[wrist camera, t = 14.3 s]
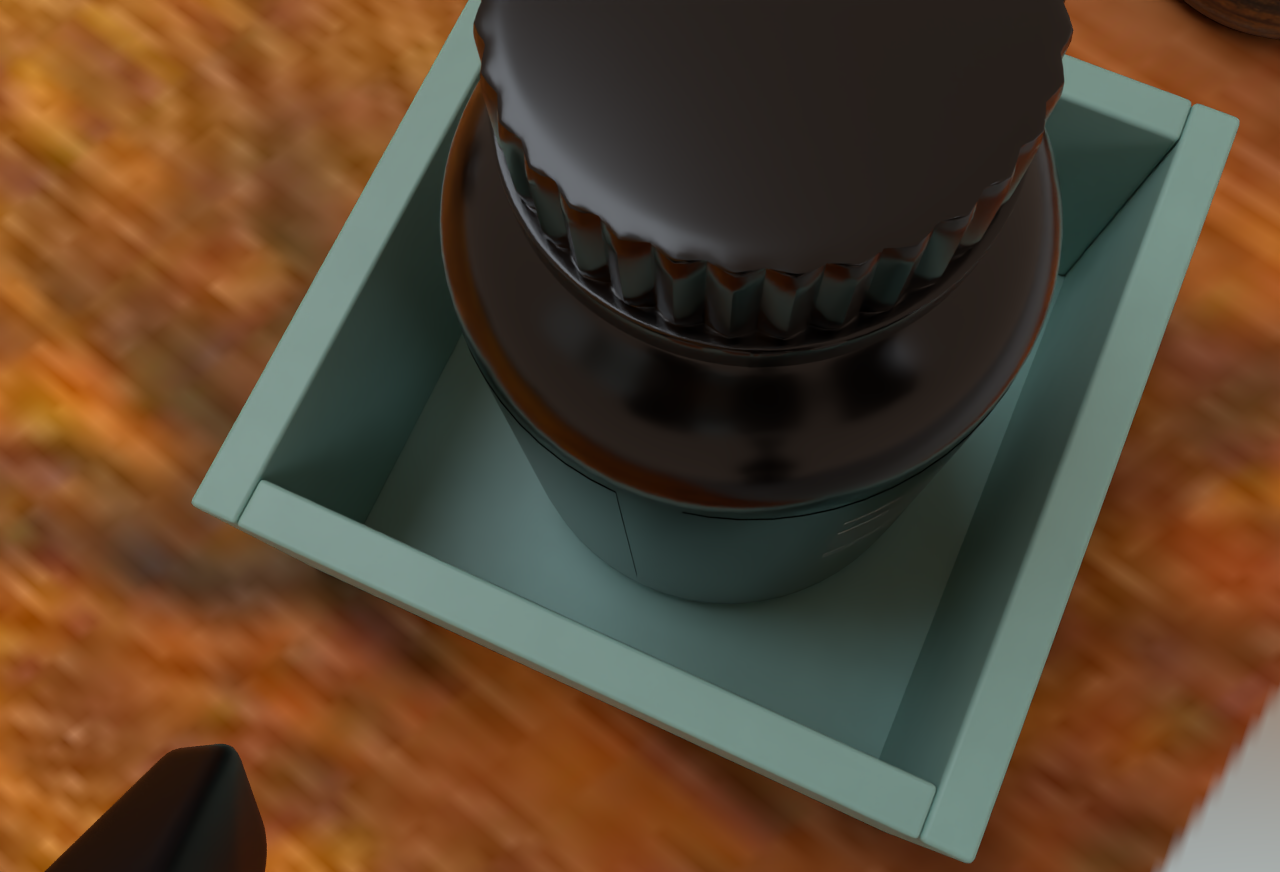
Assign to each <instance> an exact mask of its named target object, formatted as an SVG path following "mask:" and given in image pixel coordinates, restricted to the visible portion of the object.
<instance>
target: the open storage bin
mask: <svg viewBox="0 0 1280 872" xmlns="http://www.w3.org/2000/svg"><path fill="white" fill-rule="evenodd" d="M480 3H481V0H468V2H467V4H466V6H465V8H464V9H463V11H462V13H461V15H460V17H459V18H458V20H457V22H456V24H455V26H454V27H453V29H452V31H451V33H450V35H449V36H448V38H447V40H446V42H445V44H444V46H443V47H442V49H441V51H440V53H439V55H438V56H437V58H436V60H435V62H434V64H433V65H432V67H431V69H430V71H429V73H428V74H427V76H426V78H425V80H424V82H423V83H422V85H421V87H420V89H419V91H418V92H417V94H416V96H415V98H414V100H413V102H412V103H411V105H410V107H409V109H408V111H407V112H406V114H405V116H404V118H403V120H402V121H401V123H400V125H399V127H398V129H397V130H396V132H395V134H394V136H393V138H392V139H391V141H390V143H389V145H388V147H387V149H386V150H385V152H384V154H383V156H382V158H381V159H380V161H379V163H378V165H377V167H376V168H375V170H374V172H373V174H372V176H371V177H370V179H369V181H368V183H367V185H366V186H365V188H364V190H363V192H362V194H361V196H360V197H359V199H358V201H357V203H356V205H355V206H354V208H353V210H352V212H351V214H350V215H349V217H348V219H347V221H346V223H345V224H344V226H343V228H342V230H341V232H340V233H339V235H338V237H337V239H336V241H335V242H334V244H333V246H332V248H331V250H330V252H329V253H328V255H327V257H326V259H325V261H324V262H323V264H322V266H321V268H320V270H319V271H318V273H317V275H316V277H315V279H314V280H313V282H312V284H311V286H310V288H309V289H308V291H307V293H306V295H305V297H304V299H303V300H302V302H301V304H300V306H299V308H298V309H297V311H296V313H295V315H294V317H293V318H292V320H291V322H290V324H289V326H288V327H287V329H286V331H285V333H284V335H283V336H282V338H281V340H280V342H279V344H278V345H277V347H276V349H275V351H274V353H273V355H272V356H271V358H270V360H269V362H268V364H267V365H266V367H265V369H264V371H263V373H262V374H261V376H260V378H259V380H258V382H257V383H256V385H255V387H254V389H253V391H252V392H251V394H250V396H249V398H248V400H247V402H246V403H245V405H244V407H243V409H242V411H241V412H240V414H239V416H238V418H237V420H236V421H235V423H234V425H233V427H232V429H231V430H230V432H229V434H228V436H227V438H226V439H225V441H224V443H223V445H222V447H221V448H220V450H219V452H218V454H217V456H216V458H215V459H214V461H213V463H212V465H211V467H210V468H209V470H208V472H207V474H206V476H205V477H204V479H203V481H202V483H201V485H200V486H199V488H198V490H197V492H196V494H195V495H194V497H193V499H192V505H193V506H194V507H196V508H198V509H200V510H202V511H204V512H206V513H208V514H210V515H212V516H214V517H216V518H218V519H220V520H222V521H224V522H225V523H227V524H229V525H231V526H233V527H235V528H237V529H239V530H241V531H243V532H245V533H247V534H249V535H251V536H253V537H255V538H257V539H259V540H261V541H263V542H265V543H267V544H269V545H270V546H272V547H274V548H276V549H278V550H280V551H282V552H284V553H286V554H288V555H290V556H292V557H294V558H296V559H298V560H300V561H302V562H304V563H306V564H308V565H310V566H312V567H314V568H316V569H318V570H320V571H322V572H324V573H326V574H329V575H331V576H333V577H335V578H337V579H339V580H342V581H344V582H346V583H348V584H350V585H352V586H354V587H357V588H359V589H361V590H363V591H365V592H367V593H370V594H372V595H374V596H376V597H378V598H380V599H383V600H385V601H387V602H389V603H391V604H393V605H396V606H398V607H400V608H402V609H404V610H406V611H408V612H411V613H413V614H415V615H417V616H419V617H421V618H424V619H426V620H428V621H430V622H432V623H434V624H437V625H439V626H441V627H443V628H445V629H447V630H450V631H452V632H454V633H456V634H458V635H460V636H462V637H465V638H467V639H469V640H471V641H473V642H475V643H478V644H480V645H482V646H484V647H486V648H488V649H491V650H493V651H495V652H497V653H499V654H501V655H504V656H506V657H508V658H510V659H512V660H514V661H517V662H519V663H521V664H523V665H525V666H527V667H529V668H532V669H534V670H536V671H538V672H540V673H542V674H545V675H547V676H549V677H551V678H553V679H555V680H558V681H560V682H562V683H564V684H566V685H568V686H571V687H573V688H575V689H577V690H579V691H581V692H583V693H586V694H588V695H590V696H592V697H594V698H596V699H599V700H601V701H603V702H605V703H607V704H609V705H612V706H614V707H616V708H618V709H620V710H622V711H625V712H627V713H629V714H631V715H633V716H635V717H637V718H640V719H642V720H644V721H646V722H648V723H650V724H653V725H655V726H657V727H659V728H661V729H663V730H666V731H668V732H670V733H672V734H674V735H676V736H679V737H681V738H683V739H685V740H687V741H689V742H691V743H694V744H696V745H698V746H700V747H702V748H704V749H707V750H709V751H711V752H713V753H715V754H717V755H720V756H722V757H724V758H726V759H728V760H730V761H733V762H735V763H737V764H739V765H741V766H743V767H745V768H748V769H750V770H752V771H754V772H756V773H758V774H761V775H763V776H765V777H767V778H769V779H771V780H774V781H776V782H778V783H780V784H782V785H784V786H787V787H789V788H791V789H793V790H795V791H797V792H799V793H802V794H804V795H806V796H808V797H810V798H812V799H815V800H817V801H819V802H821V803H823V804H825V805H828V806H830V807H832V808H834V809H836V810H838V811H841V812H843V813H845V814H847V815H849V816H851V817H854V818H856V819H858V820H860V821H862V822H864V823H866V824H869V825H871V826H873V827H875V828H877V829H879V830H882V831H884V832H886V833H888V834H891V835H894V836H897V837H899V838H902V839H904V840H907V841H910V842H912V843H915V844H917V845H920V846H923V847H925V848H928V849H930V850H933V851H936V852H938V853H941V854H943V855H946V856H949V857H951V858H954V859H956V860H959V861H962V862H964V863H971V862H972V861H973V860H974V859H975V857H976V854H977V851H978V848H979V846H980V843H981V840H982V837H983V835H984V832H985V829H986V826H987V823H988V821H989V818H990V815H991V812H992V810H993V807H994V804H995V801H996V798H997V796H998V793H999V790H1000V787H1001V785H1002V782H1003V779H1004V776H1005V774H1006V771H1007V768H1008V765H1009V762H1010V760H1011V757H1012V754H1013V751H1014V749H1015V746H1016V743H1017V740H1018V737H1019V735H1020V732H1021V729H1022V726H1023V724H1024V721H1025V718H1026V715H1027V712H1028V710H1029V707H1030V704H1031V701H1032V699H1033V696H1034V693H1035V690H1036V688H1037V685H1038V682H1039V679H1040V676H1041V674H1042V671H1043V668H1044V665H1045V663H1046V660H1047V657H1048V654H1049V651H1050V649H1051V646H1052V643H1053V640H1054V638H1055V635H1056V632H1057V629H1058V626H1059V624H1060V621H1061V618H1062V615H1063V613H1064V610H1065V607H1066V604H1067V602H1068V599H1069V596H1070V593H1071V590H1072V588H1073V585H1074V582H1075V579H1076V577H1077V574H1078V571H1079V568H1080V565H1081V563H1082V560H1083V557H1084V554H1085V552H1086V549H1087V546H1088V543H1089V540H1090V538H1091V535H1092V532H1093V529H1094V527H1095V524H1096V521H1097V518H1098V515H1099V513H1100V510H1101V507H1102V504H1103V502H1104V499H1105V496H1106V493H1107V491H1108V488H1109V485H1110V482H1111V479H1112V477H1113V474H1114V471H1115V468H1116V466H1117V463H1118V460H1119V457H1120V454H1121V452H1122V449H1123V446H1124V443H1125V441H1126V438H1127V435H1128V432H1129V429H1130V427H1131V424H1132V421H1133V418H1134V416H1135V413H1136V410H1137V407H1138V405H1139V402H1140V399H1141V396H1142V393H1143V391H1144V388H1145V385H1146V382H1147V380H1148V377H1149V374H1150V371H1151V368H1152V366H1153V363H1154V360H1155V357H1156V355H1157V352H1158V349H1159V346H1160V343H1161V341H1162V338H1163V335H1164V332H1165V330H1166V327H1167V324H1168V321H1169V318H1170V316H1171V313H1172V310H1173V307H1174V305H1175V302H1176V299H1177V296H1178V294H1179V291H1180V288H1181V285H1182V282H1183V280H1184V277H1185V274H1186V271H1187V269H1188V266H1189V263H1190V260H1191V257H1192V255H1193V252H1194V249H1195V246H1196V244H1197V241H1198V238H1199V235H1200V232H1201V230H1202V227H1203V224H1204V221H1205V219H1206V216H1207V213H1208V210H1209V208H1210V205H1211V202H1212V199H1213V196H1214V194H1215V191H1216V188H1217V185H1218V183H1219V180H1220V177H1221V174H1222V171H1223V169H1224V166H1225V163H1226V160H1227V158H1228V155H1229V152H1230V149H1231V146H1232V144H1233V141H1234V138H1235V135H1236V133H1237V130H1238V127H1239V119H1238V118H1236V117H1234V116H1231V115H1228V114H1226V113H1223V112H1220V111H1217V110H1215V109H1212V108H1209V107H1207V106H1204V105H1201V104H1195V105H1193V106H1192V107H1191V102H1190V101H1189V100H1188V99H1185V98H1182V97H1179V96H1177V95H1174V94H1171V93H1169V92H1166V91H1163V90H1160V89H1158V88H1155V87H1152V86H1150V85H1147V84H1144V83H1141V82H1139V81H1136V80H1133V79H1130V78H1128V77H1125V76H1122V75H1120V74H1117V73H1114V72H1111V71H1109V70H1106V69H1103V68H1101V67H1098V66H1095V65H1092V64H1090V63H1087V62H1084V61H1082V60H1079V59H1076V58H1073V57H1071V56H1068V55H1064V57H1063V59H1062V63H1063V69H1064V87H1063V91H1062V94H1061V97H1060V99H1059V101H1058V103H1057V104H1056V106H1055V108H1054V110H1053V112H1052V113H1051V115H1050V117H1049V119H1048V120H1047V122H1046V124H1045V126H1046V129H1047V132H1048V135H1049V138H1050V141H1051V144H1052V147H1053V152H1054V156H1055V161H1056V165H1057V170H1058V174H1059V179H1060V188H1061V197H1062V205H1063V239H1062V248H1061V257H1060V266H1059V272H1058V277H1057V281H1056V286H1055V290H1054V295H1053V299H1052V302H1051V305H1050V308H1049V311H1048V314H1047V317H1046V319H1045V322H1044V325H1043V327H1042V330H1041V332H1040V334H1039V336H1038V338H1037V340H1036V342H1035V345H1034V347H1033V349H1032V351H1031V353H1030V355H1029V356H1028V358H1027V360H1026V361H1025V363H1024V365H1023V366H1022V368H1021V369H1020V371H1019V373H1018V374H1017V376H1016V378H1015V379H1014V381H1013V383H1012V384H1011V386H1010V387H1009V389H1008V391H1007V392H1006V393H1005V395H1004V396H1003V397H1002V399H1001V400H1000V401H999V402H998V404H997V405H996V406H995V408H994V409H993V410H992V412H991V413H990V414H989V415H988V417H987V418H986V419H985V420H984V421H983V423H982V424H981V425H980V426H979V427H978V428H977V429H976V430H975V432H974V433H973V434H972V435H971V436H970V437H969V438H968V440H967V441H966V442H965V443H964V444H963V445H962V446H961V447H960V449H959V450H958V451H957V452H956V453H955V454H954V455H953V456H952V458H951V459H950V460H949V461H948V462H947V463H946V464H945V465H944V467H943V468H942V469H941V470H940V471H939V472H938V473H937V474H936V476H935V477H934V478H933V479H932V480H931V481H930V482H929V483H928V485H927V486H926V487H925V488H924V489H923V490H922V491H921V492H920V494H919V495H918V496H917V497H916V498H915V499H914V500H913V501H912V503H911V504H910V505H909V506H908V507H907V508H906V509H905V510H904V512H903V513H902V514H901V515H900V516H899V517H898V518H897V519H896V521H895V522H894V523H893V524H892V525H891V526H890V527H889V528H888V529H887V530H886V531H885V532H884V534H883V535H882V536H881V537H880V538H879V539H878V540H877V541H876V542H874V543H873V544H872V545H871V546H870V547H869V548H868V549H867V550H866V551H865V552H864V553H863V554H861V555H860V556H859V557H858V558H857V559H856V560H854V561H853V562H852V563H850V564H849V565H847V566H846V567H845V568H843V569H842V570H840V571H839V572H837V573H836V574H834V575H832V576H830V577H829V578H827V579H825V580H823V581H821V582H820V583H817V584H815V585H813V586H810V587H808V588H806V589H803V590H801V591H799V592H795V593H792V594H789V595H786V596H783V597H779V598H775V599H770V600H765V601H761V602H752V603H743V604H715V603H704V602H697V601H691V600H686V599H681V598H677V597H674V596H670V595H667V594H663V593H661V592H658V591H656V590H653V589H650V588H648V587H645V586H643V585H641V584H639V583H637V582H635V581H633V580H632V579H630V578H628V577H626V576H624V575H623V574H621V573H620V572H618V571H617V570H615V569H613V568H612V567H610V566H609V565H608V564H606V563H605V562H604V561H603V560H601V559H600V558H599V557H598V556H596V555H595V554H594V553H593V552H592V551H591V550H589V549H588V548H587V547H586V546H585V545H584V544H583V543H582V542H581V541H580V540H579V539H578V538H577V536H576V535H575V534H574V533H573V532H572V530H571V529H570V528H569V527H568V526H567V524H566V523H565V522H564V520H563V519H562V517H561V516H560V514H559V513H558V511H557V510H556V508H555V507H554V505H553V504H552V502H551V501H550V499H549V498H548V496H547V494H546V492H545V490H544V489H543V487H542V485H541V483H540V481H539V479H538V478H537V476H536V474H535V472H534V470H533V468H532V466H531V465H530V463H529V461H528V459H527V457H526V455H525V453H524V452H523V450H522V448H521V446H520V444H519V442H518V441H517V439H516V437H515V435H514V433H513V431H512V429H511V428H510V426H509V424H508V422H507V420H506V418H505V416H504V415H503V413H502V411H501V409H500V407H499V405H498V404H497V402H496V400H495V398H494V396H493V394H492V392H491V390H490V389H489V387H488V385H487V383H486V381H485V379H484V377H483V376H482V374H481V372H480V370H479V368H478V366H477V364H476V363H475V361H474V359H473V357H472V355H471V353H470V350H469V348H468V346H467V343H466V341H465V338H464V336H463V333H462V331H461V328H460V326H459V323H458V320H457V318H456V315H455V312H454V308H453V305H452V301H451V298H450V295H449V291H448V288H447V284H446V279H445V273H444V267H443V262H442V256H441V242H440V204H441V192H442V186H443V179H444V172H445V166H446V163H447V159H448V155H449V151H450V147H451V143H452V140H453V137H454V134H455V132H456V129H457V126H458V124H459V121H460V118H461V116H462V113H463V111H464V109H465V107H466V105H467V103H468V101H469V99H470V97H471V95H472V93H473V90H474V88H475V87H476V85H477V83H478V82H479V80H480V71H481V61H480V57H479V54H478V51H477V47H476V44H475V40H474V35H473V23H474V20H475V17H476V13H477V10H478V8H479V6H480Z"/></svg>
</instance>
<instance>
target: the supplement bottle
mask: <svg viewBox="0 0 1280 872" xmlns="http://www.w3.org/2000/svg"><path fill="white" fill-rule="evenodd" d="M1064 3H1065V0H481V3H480V6H479V8H478V10H477V13H476V17H475V20H474V23H473V35H474V40H475V44H476V47H477V51H478V54H479V57H480V61H481V71H480V80H479V82H478V83H477V85H476V87H475V88H474V90H473V93H472V95H471V97H470V99H469V101H468V103H467V105H466V107H465V109H464V111H463V113H462V116H461V118H460V121H459V124H458V126H457V129H456V132H455V134H454V137H453V140H452V143H451V147H450V151H449V155H448V159H447V163H446V166H445V172H444V179H443V186H442V192H441V204H440V242H441V256H442V262H443V267H444V273H445V279H446V284H447V288H448V291H449V295H450V298H451V301H452V305H453V308H454V312H455V315H456V318H457V320H458V323H459V326H460V328H461V331H462V333H463V336H464V338H465V341H466V343H467V346H468V348H469V350H470V353H471V355H472V357H473V359H474V361H475V363H476V364H477V366H478V368H479V370H480V372H481V374H482V376H483V377H484V379H485V381H486V383H487V385H488V387H489V389H490V390H491V392H492V394H493V396H494V398H495V400H496V402H497V404H498V405H499V407H500V409H501V411H502V413H503V415H504V416H505V418H506V420H507V422H508V424H509V426H510V428H511V429H512V431H513V433H514V435H515V437H516V439H517V441H518V442H519V444H520V446H521V448H522V450H523V452H524V453H525V455H526V457H527V459H528V461H529V463H530V465H531V466H532V468H533V470H534V472H535V474H536V476H537V478H538V479H539V481H540V483H541V485H542V487H543V489H544V490H545V492H546V494H547V496H548V498H549V499H550V501H551V502H552V504H553V505H554V507H555V508H556V510H557V511H558V513H559V514H560V516H561V517H562V519H563V520H564V522H565V523H566V524H567V526H568V527H569V528H570V529H571V530H572V532H573V533H574V534H575V535H576V536H577V538H578V539H579V540H580V541H581V542H582V543H583V544H584V545H585V546H586V547H587V548H588V549H589V550H591V551H592V552H593V553H594V554H595V555H596V556H598V557H599V558H600V559H601V560H603V561H604V562H605V563H606V564H608V565H609V566H610V567H612V568H613V569H615V570H617V571H618V572H620V573H621V574H623V575H624V576H626V577H628V578H630V579H632V580H633V581H635V582H637V583H639V584H641V585H643V586H645V587H648V588H650V589H653V590H656V591H658V592H661V593H663V594H667V595H670V596H674V597H677V598H681V599H686V600H691V601H697V602H704V603H715V604H743V603H752V602H761V601H765V600H770V599H775V598H779V597H783V596H786V595H789V594H792V593H795V592H799V591H801V590H803V589H806V588H808V587H810V586H813V585H815V584H817V583H820V582H821V581H823V580H825V579H827V578H829V577H830V576H832V575H834V574H836V573H837V572H839V571H840V570H842V569H843V568H845V567H846V566H847V565H849V564H850V563H852V562H853V561H854V560H856V559H857V558H858V557H859V556H860V555H861V554H863V553H864V552H865V551H866V550H867V549H868V548H869V547H870V546H871V545H872V544H873V543H874V542H876V541H877V540H878V539H879V538H880V537H881V536H882V535H883V534H884V532H885V531H886V530H887V529H888V528H889V527H890V526H891V525H892V524H893V523H894V522H895V521H896V519H897V518H898V517H899V516H900V515H901V514H902V513H903V512H904V510H905V509H906V508H907V507H908V506H909V505H910V504H911V503H912V501H913V500H914V499H915V498H916V497H917V496H918V495H919V494H920V492H921V491H922V490H923V489H924V488H925V487H926V486H927V485H928V483H929V482H930V481H931V480H932V479H933V478H934V477H935V476H936V474H937V473H938V472H939V471H940V470H941V469H942V468H943V467H944V465H945V464H946V463H947V462H948V461H949V460H950V459H951V458H952V456H953V455H954V454H955V453H956V452H957V451H958V450H959V449H960V447H961V446H962V445H963V444H964V443H965V442H966V441H967V440H968V438H969V437H970V436H971V435H972V434H973V433H974V432H975V430H976V429H977V428H978V427H979V426H980V425H981V424H982V423H983V421H984V420H985V419H986V418H987V417H988V415H989V414H990V413H991V412H992V410H993V409H994V408H995V406H996V405H997V404H998V402H999V401H1000V400H1001V399H1002V397H1003V396H1004V395H1005V393H1006V392H1007V391H1008V389H1009V387H1010V386H1011V384H1012V383H1013V381H1014V379H1015V378H1016V376H1017V374H1018V373H1019V371H1020V369H1021V368H1022V366H1023V365H1024V363H1025V361H1026V360H1027V358H1028V356H1029V355H1030V353H1031V351H1032V349H1033V347H1034V345H1035V342H1036V340H1037V338H1038V336H1039V334H1040V332H1041V330H1042V327H1043V325H1044V322H1045V319H1046V317H1047V314H1048V311H1049V308H1050V305H1051V302H1052V299H1053V295H1054V290H1055V286H1056V281H1057V277H1058V272H1059V266H1060V257H1061V248H1062V239H1063V205H1062V197H1061V188H1060V179H1059V174H1058V170H1057V165H1056V161H1055V156H1054V152H1053V147H1052V144H1051V141H1050V138H1049V135H1048V132H1047V129H1046V126H1045V124H1046V122H1047V120H1048V119H1049V117H1050V115H1051V113H1052V112H1053V110H1054V108H1055V106H1056V104H1057V103H1058V101H1059V99H1060V97H1061V94H1062V91H1063V87H1064V69H1063V63H1062V59H1063V57H1064V55H1065V53H1066V51H1067V49H1068V47H1069V45H1070V42H1071V39H1072V34H1073V28H1072V24H1071V21H1070V18H1069V15H1068V13H1067V10H1066V8H1065V5H1064Z"/></svg>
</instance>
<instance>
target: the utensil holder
mask: <svg viewBox="0 0 1280 872" xmlns="http://www.w3.org/2000/svg"><path fill="white" fill-rule="evenodd" d="M1184 1H1185V2H1186V3H1188V4H1189V5H1190V6H1191V7H1193V8H1194V9H1196V10H1197V11H1199V12H1200V13H1202V14H1203V15H1205V16H1207V17H1209V18H1210V19H1212V20H1214V21H1216V22H1218V23H1220V24H1222V25H1225V26H1227V27H1230V28H1232V29H1235V30H1238V31H1241V32H1244V33H1248V34H1252V35H1256V36H1261V37H1266V38H1274V39H1280V0H1184Z"/></svg>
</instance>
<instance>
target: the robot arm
mask: <svg viewBox="0 0 1280 872" xmlns="http://www.w3.org/2000/svg"><path fill="white" fill-rule="evenodd" d="M266 857H267V843H266V834H265V828H264V824H263V821H262V818H261V815H260V812H259V810H258V807H257V804H256V801H255V798H254V795H253V793H252V790H251V787H250V784H249V781H248V778H247V775H246V773H245V770H244V767H243V764H242V761H241V759H240V757H239V755H238V753H237V752H236V751H235V749H234V748H233V747H231V746H229V745H226V744H214V745H205V746H195V747H186V748H179V749H176V750H172V751H171V752H169V753H167V754H166V755H165V756H163V757H162V758H161V759H160V760H159V761H158V762H157V763H156V764H155V765H154V766H153V767H152V768H151V769H150V770H149V771H148V772H147V773H146V774H145V775H144V776H142V777H141V778H140V779H139V780H138V781H137V782H136V783H135V784H134V785H133V786H132V787H131V788H130V789H129V790H128V791H127V792H126V793H125V794H124V795H123V796H122V797H121V798H120V799H119V800H118V801H117V802H116V803H115V804H114V805H113V806H112V807H111V808H110V809H109V810H107V811H106V812H105V813H104V814H103V815H102V816H101V817H100V818H99V819H98V820H97V821H96V822H95V823H94V824H93V825H92V826H91V827H90V828H89V829H88V830H87V831H86V832H85V833H84V834H83V835H82V836H81V837H80V838H79V839H78V840H77V841H76V842H75V843H73V844H72V845H71V846H70V847H69V848H68V849H67V850H66V851H65V852H64V853H63V854H62V855H61V856H60V857H59V858H58V859H57V860H56V861H55V862H54V863H53V864H52V865H51V866H50V867H49V868H48V869H47V870H46V871H45V872H265V867H266Z"/></svg>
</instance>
